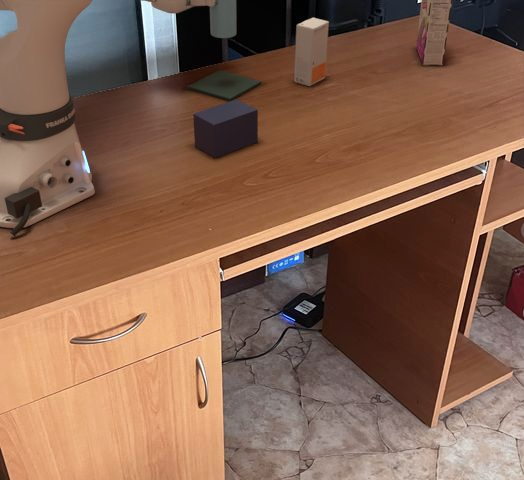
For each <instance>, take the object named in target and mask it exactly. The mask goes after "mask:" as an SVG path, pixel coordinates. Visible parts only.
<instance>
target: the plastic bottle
mask: <svg viewBox="0 0 524 480" xmlns="http://www.w3.org/2000/svg"><path fill="white" fill-rule="evenodd" d="M217 1H218V4H217V5H215V6H213V7H210V6H209V22H210V23H209V24H210V25H209V27H210V28H209V29H210V35H211V36H212V37H213V38H218V39H230V38H234V37H235V36H236V35H237V0H217Z"/></svg>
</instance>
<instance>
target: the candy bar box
mask: <svg viewBox="0 0 524 480" xmlns="http://www.w3.org/2000/svg"><path fill="white" fill-rule="evenodd" d="M452 5H453V0H421V1H420V10H419V18H418V19H419V20H418V28H417V35H416V45H415V49H416V51H417V55H418V57H419V59H420V62H421V65H422V66H425V67H429V66H432V67H433V66H434V67H437V66H444V61H445V60H444V59H445V54H446V47H447V40H448V34H449V28H450V27H449V26H450V20H451V13H452Z"/></svg>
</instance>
